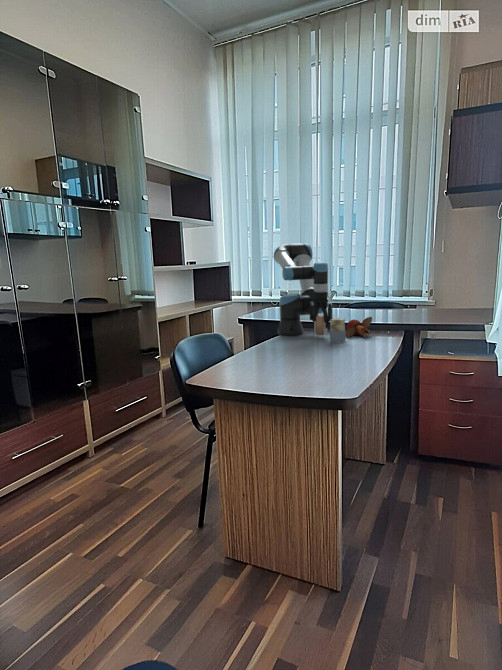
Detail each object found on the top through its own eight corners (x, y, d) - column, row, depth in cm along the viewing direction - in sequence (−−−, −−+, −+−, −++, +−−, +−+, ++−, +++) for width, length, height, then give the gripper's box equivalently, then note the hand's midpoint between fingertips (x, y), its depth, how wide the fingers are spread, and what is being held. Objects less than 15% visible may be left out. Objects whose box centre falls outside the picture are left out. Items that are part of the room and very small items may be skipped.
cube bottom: (329, 342, 213) (329, 330, 212) (335, 339, 217) (335, 328, 216) (340, 343, 209) (340, 331, 208) (345, 340, 214) (345, 329, 213)
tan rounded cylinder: (314, 334, 223) (314, 316, 221) (318, 332, 227) (318, 315, 225) (322, 335, 220) (322, 317, 218) (327, 333, 224) (327, 315, 222)
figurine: (382, 331, 225) (363, 322, 237) (380, 318, 220) (361, 310, 232) (354, 348, 220) (337, 338, 232) (352, 335, 215) (334, 325, 227)
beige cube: (330, 331, 211) (330, 319, 210) (333, 329, 216) (333, 317, 215) (341, 331, 208) (341, 320, 207) (344, 329, 213) (344, 318, 212)
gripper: (302, 291, 221) (303, 332, 226) (332, 292, 210) (332, 336, 215) (309, 290, 227) (309, 330, 232) (339, 291, 216) (338, 333, 221)
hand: (320, 333), depth 224 cm, fingers closed on tan rounded cylinder, 5 cm apart
